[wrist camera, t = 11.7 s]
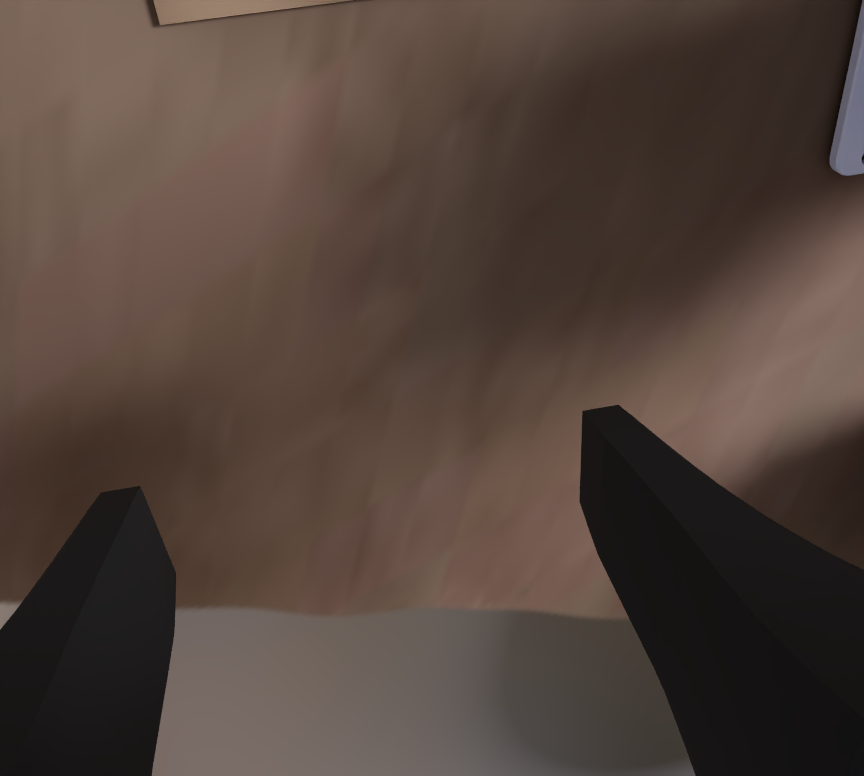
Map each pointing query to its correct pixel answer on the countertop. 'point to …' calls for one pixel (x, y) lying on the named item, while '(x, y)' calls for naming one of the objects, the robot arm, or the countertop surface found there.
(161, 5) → the board
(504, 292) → the countertop surface
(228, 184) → the countertop surface
